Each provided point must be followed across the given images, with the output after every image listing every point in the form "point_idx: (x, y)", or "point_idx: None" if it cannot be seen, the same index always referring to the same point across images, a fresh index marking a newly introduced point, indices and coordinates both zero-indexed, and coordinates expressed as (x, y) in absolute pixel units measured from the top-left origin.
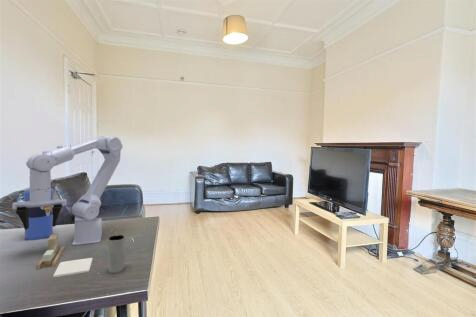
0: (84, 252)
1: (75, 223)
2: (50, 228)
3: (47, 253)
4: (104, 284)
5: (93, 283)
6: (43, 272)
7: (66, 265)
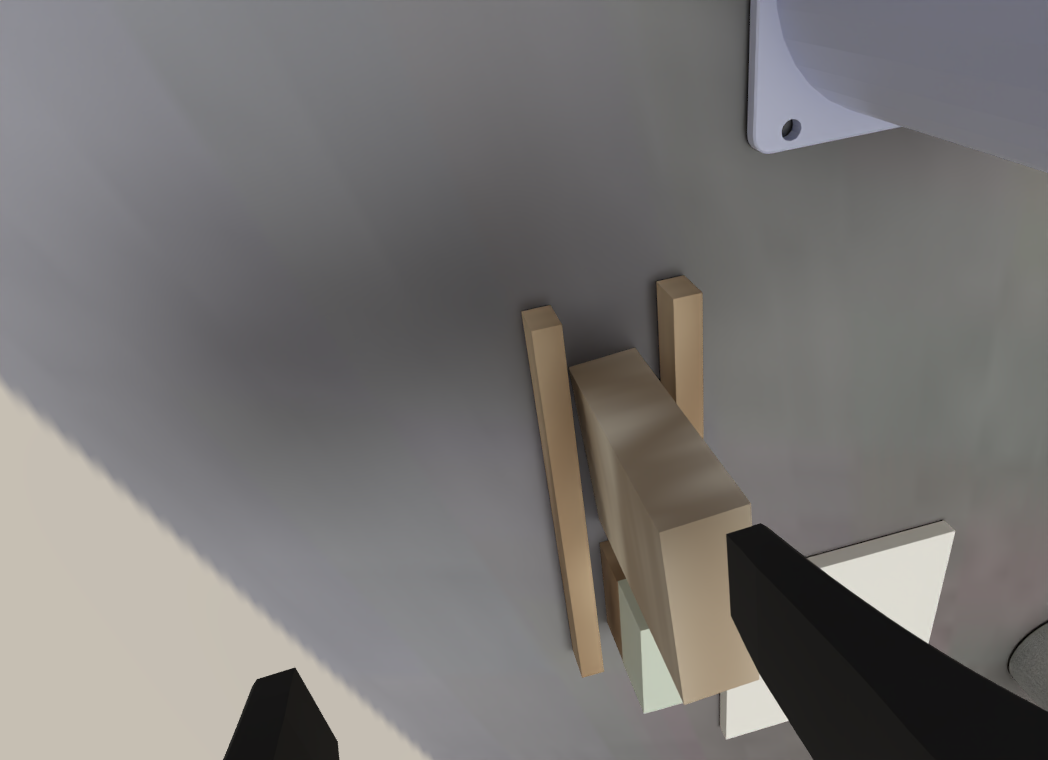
0: (888, 382)
1: (1045, 116)
2: None
3: (667, 681)
4: None
5: None
6: None
7: None
